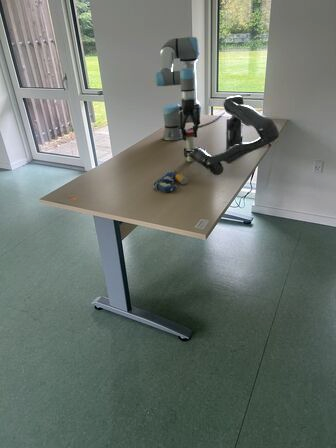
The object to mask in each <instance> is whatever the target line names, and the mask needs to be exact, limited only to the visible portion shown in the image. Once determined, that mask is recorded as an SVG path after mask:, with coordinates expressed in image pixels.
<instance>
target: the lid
mask: <svg viewBox="0 0 336 448" xmlns="http://www.w3.org/2000/svg"><path fill="white" fill-rule="evenodd" d="M186 130H187V131H186V136H187V137H191V136H194V131H193V129H191V130H188V129H186Z"/></svg>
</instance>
